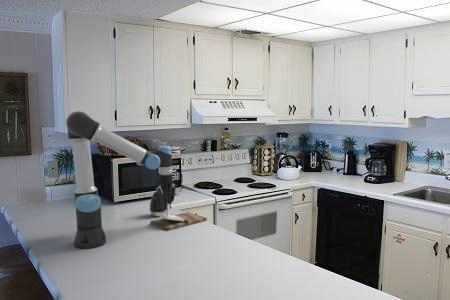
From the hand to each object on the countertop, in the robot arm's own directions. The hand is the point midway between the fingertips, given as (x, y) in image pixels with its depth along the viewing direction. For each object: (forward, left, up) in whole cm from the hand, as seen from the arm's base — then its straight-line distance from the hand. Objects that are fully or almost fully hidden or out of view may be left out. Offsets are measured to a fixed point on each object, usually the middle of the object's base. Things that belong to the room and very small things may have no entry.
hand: (167, 214), depth 223 cm
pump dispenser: (+6, +20, -6) cm, 22 cm away
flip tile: (+2, 0, -1) cm, 2 cm away
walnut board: (+7, 0, -6) cm, 9 cm away
